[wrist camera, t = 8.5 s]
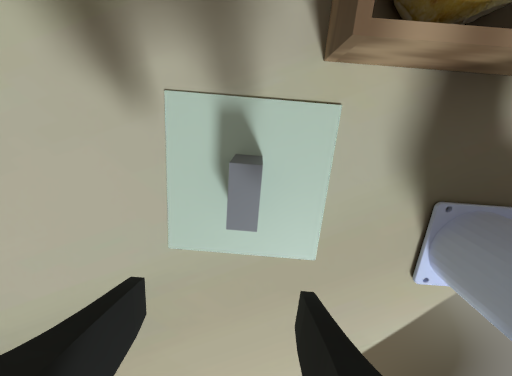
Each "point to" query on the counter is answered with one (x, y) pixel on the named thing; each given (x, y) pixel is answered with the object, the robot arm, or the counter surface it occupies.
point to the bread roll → (447, 10)
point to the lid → (247, 173)
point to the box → (414, 42)
